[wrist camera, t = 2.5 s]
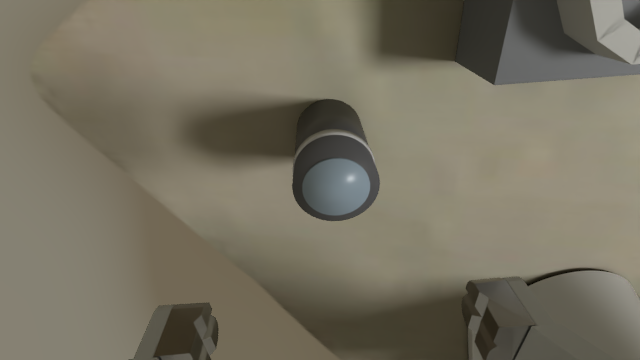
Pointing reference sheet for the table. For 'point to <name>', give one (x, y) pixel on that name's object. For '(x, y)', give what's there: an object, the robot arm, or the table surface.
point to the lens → (333, 163)
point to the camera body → (549, 39)
